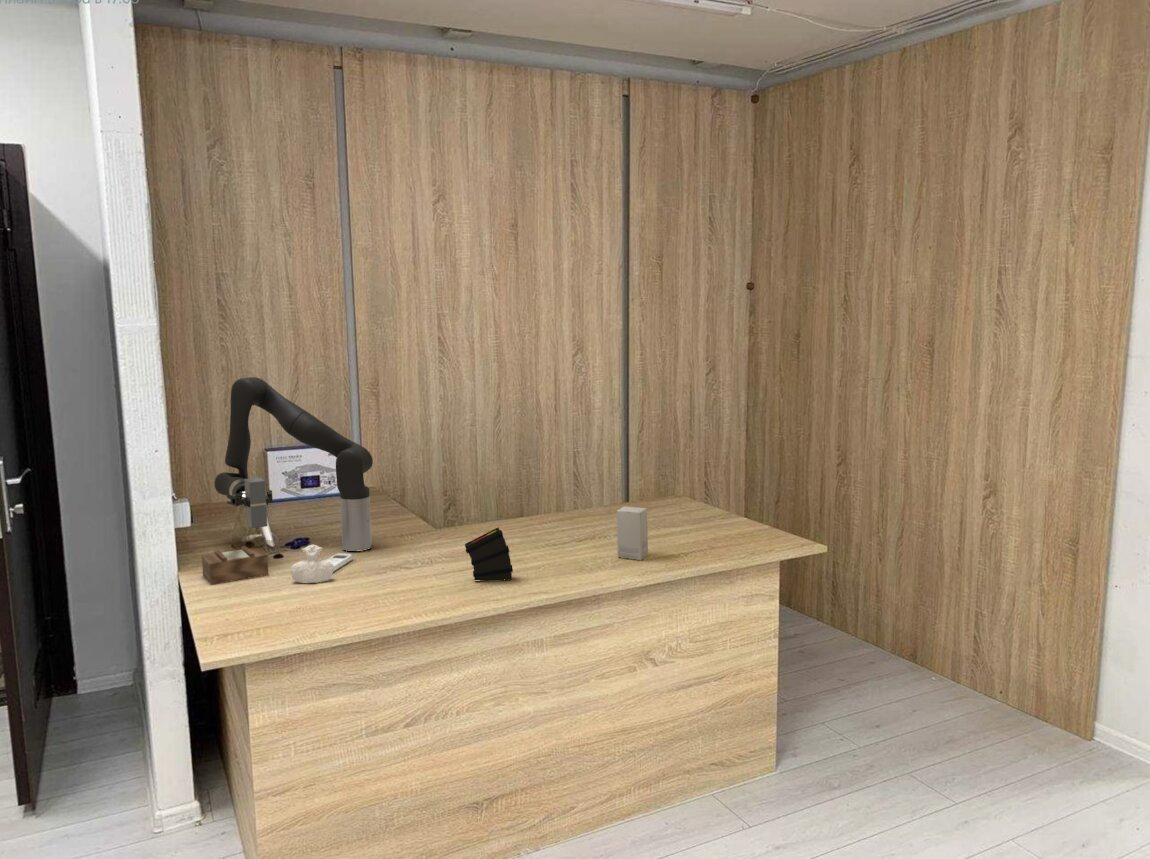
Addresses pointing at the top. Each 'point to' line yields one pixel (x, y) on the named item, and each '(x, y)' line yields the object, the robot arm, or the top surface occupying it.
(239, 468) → the robot arm
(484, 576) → the magazine
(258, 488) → the stacked grey cubes
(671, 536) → the top surface
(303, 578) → the tied plastic bag
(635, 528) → the skincare box
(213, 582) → the stand
